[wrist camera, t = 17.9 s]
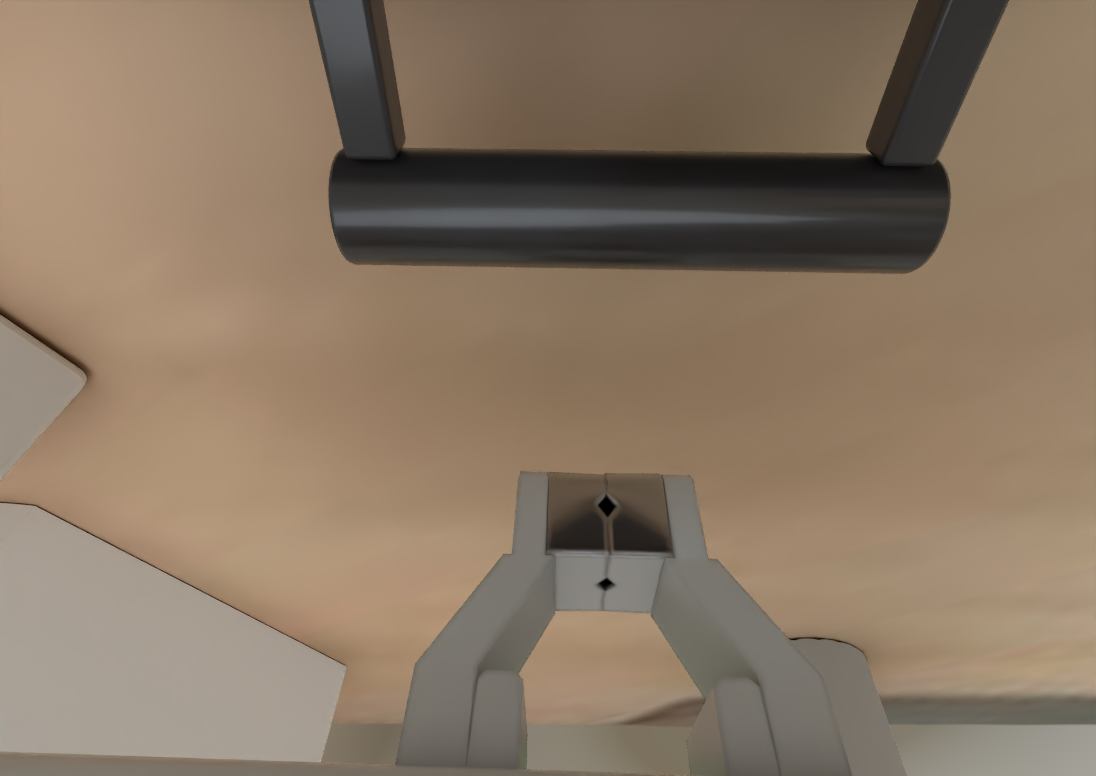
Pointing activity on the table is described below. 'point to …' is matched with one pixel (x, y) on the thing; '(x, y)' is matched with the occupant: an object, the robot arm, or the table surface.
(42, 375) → the medicine bottle
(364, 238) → the drawer
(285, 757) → the white rectangular box
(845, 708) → the bottle
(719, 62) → the table surface
